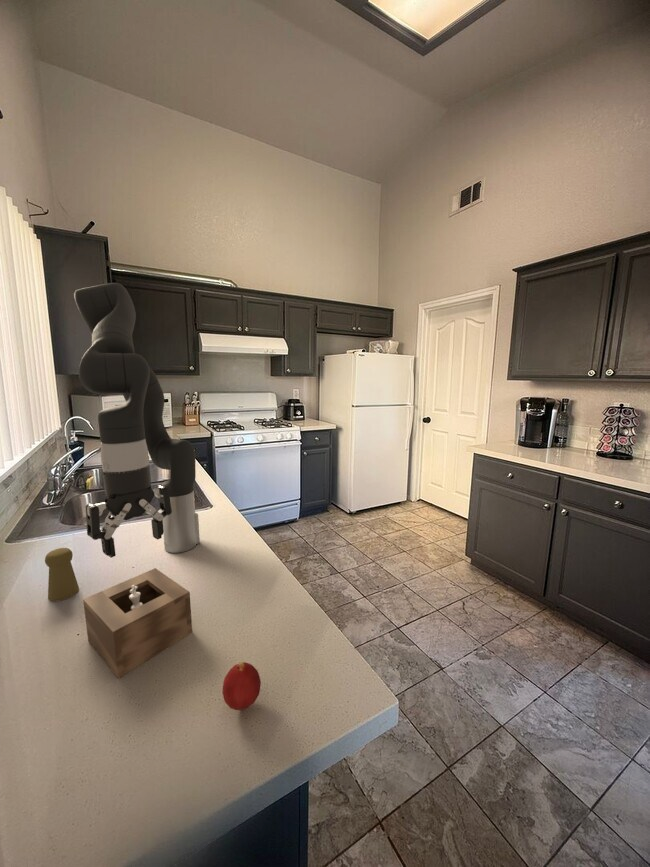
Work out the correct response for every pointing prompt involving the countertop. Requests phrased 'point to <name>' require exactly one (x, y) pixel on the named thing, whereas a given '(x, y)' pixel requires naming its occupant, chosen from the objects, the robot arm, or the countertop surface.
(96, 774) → the countertop surface
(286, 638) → the countertop surface
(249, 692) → the red oval fruit
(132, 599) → the chess piece
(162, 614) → the drop box
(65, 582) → the cork
